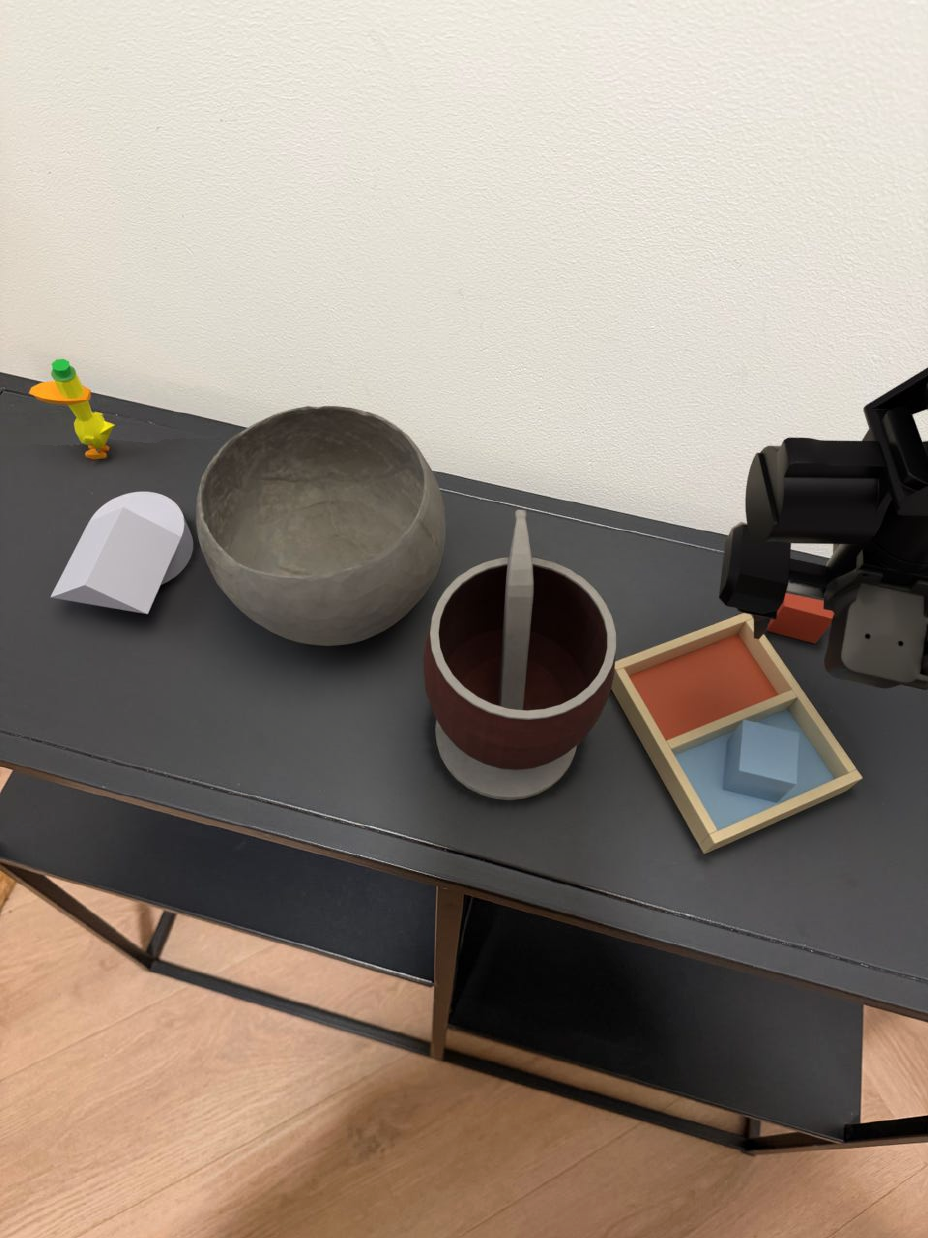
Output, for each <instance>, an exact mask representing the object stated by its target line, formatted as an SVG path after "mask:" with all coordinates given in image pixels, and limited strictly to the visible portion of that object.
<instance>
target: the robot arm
mask: <svg viewBox="0 0 928 1238" xmlns="http://www.w3.org/2000/svg"><path fill="white" fill-rule="evenodd" d="M862 411H863V414H864V417H865V421H866V423H867V426H868V430H867V431H866V433H865V435H864V436H863V438H862V440H835V439H833V440H831V439H829V440H828V439H827V440H825V439H817V438H811V437H791V436H790V437H789V436H788V437H786V438H785V439H783V441H782V442H781V445H766V446H764V447H763V448H762V450H760V452H755V455H754V456H753V459H752V461H751V464H750V467H749V471H748V475H747V479H746V487H745V498H744V500H745V501H744V503H745V505H744V506H745V507H744V508H745V509H744V510H745V519H746V522H744V521H740V522H738V523H737V524H735V525H734V526H732V527H731V529H730V531H729V533H728V534H727V538H726V539H725V542H724V551H723V557H722V565H721V566H722V567H721V576H720V584H719V590H718V591H719V592H718V599H719V600H720V601H721V602H722V604H723V605H724V606H725V607H729V608H734V609H737V611H738V612H740V613H741V614H743V613H746V614H751V616H752V617H753V619H754V639H760V638H761V637H762V635H763V634H764V635H765V633H766V631H767V627H768V624H769V622H770V620H771V619H774V620H776V619H777V611H778V609H779V608H780V606H781V605H782V603H783V601H784V597H785V594H786V593H788V594H793V595H798V596H802V597H807V598H812V599H816V600H821V601H824V606H823V609H825V610H830V611H833V613H834V615H833V618H832V623H831V625H830V629H829V634H828V641H827V645H826V646H827V648H826V652H825V654H824V659H823V666H824V669H825V671H826V672H827V673H828V675H829V676H831V677H832V678H834V679H838V680H842V681H850V682H854V683H858V684H862V685H867V686H872V687H875V688H878V689H884V690H885V689H891V688H895V687H899V686H905V687H910V688H914V689H919V690H923V691H928V440H924V441H923V439H922V437H921V434H920V431H919V428H918V426H917V423H916V420H915V418H914V415H915V414H918V413H922V412H924V411H928V367H926V368H924V369H922V370H920V371H919V372H917V373H916V374H914V375H912V376H911V377H909V378H908V379H906V380H905V381H903V382H901V383H899V384H898V385H896V386H894V387H893V388H891V389H890V390H888V391H887V392H885V393H883V394H882V395H880V396H879V397H877V398H875V399H874V400H872V401H870V402H868V403H867V404H866V405H864V406H863V409H862ZM792 544H800V545H801V544H802V545H805V544H806V545H807V544H808V545H832V555H831V556H830V557H829V559H828V561H827V562H826V564H819V563H816V562H810V561H805V560H800V559H795V558H791V553H792V551H791V550H792Z"/></svg>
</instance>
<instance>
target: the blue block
mask: <svg viewBox="0 0 928 1238" xmlns="http://www.w3.org/2000/svg"><path fill="white" fill-rule="evenodd" d="M798 751H799V732H794V731H790V730H786V729H782V728H777V727H773V726H769V725H764V724H760V723H756V722H752V721H747V720H743V721H742V722H741V724H740V725H739V726H738V728H737V729H736V730H735V732H734V733H733V734H732V735H731V737H730V738H729V739H728V741H727V749H726V759H725V770H724V780H723V790H727V791H731V792H736V793H740V794H744V795H748V796H752V797H756V798H760V799H764V800H768V801H773V802H778V801H779V800H780V799H781V798H782V797H784V796H785V795H786V794H787V793H788V792H789V791H790V790H791V789H792V788H793V787H794V786H795V785H796V784H797V771H798Z"/></svg>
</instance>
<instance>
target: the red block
mask: <svg viewBox="0 0 928 1238" xmlns="http://www.w3.org/2000/svg"><path fill="white" fill-rule="evenodd" d="M823 606H824V601H821V600H816V599H812V598H807V597H802V596H798V595H793V594H788V593H786V594H785V597H784V601H783V603H782V605H781V606H780V608H779V609H778V611H777V619H776V620H774V619H771V620H770V622H769V624H768V627H767V629H766V631H767V632H770V633H774V634H776V635H777V634H778V635H780V636H781V635H782V636H784V637H789V638H793V639H796V640H799V641H804V642H807V643H810V644H814V645H815V644H816V643H817V642H818V641H819V640H820V639H821V637H822V636H823V635H824V633H825V632H826V631H827V630H828V629H829V627H831V623H832V618H833V615H834V613H833V611H830V610H825V609H823Z"/></svg>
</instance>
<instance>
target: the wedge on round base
mask: <svg viewBox="0 0 928 1238" xmlns="http://www.w3.org/2000/svg"><path fill="white" fill-rule="evenodd" d="M192 535H193V534H192V533H191V530H190V528H189V525H188V524H187V520H186V519H185V516H184V514H183V511H182V509H181V508H180V507H179V505H178V504H177V503H176V502H175V501H174V500H172V499H171V498H170V497H168V496H166V495H164V494H160V493H158V492H152V491H134V492H129V493H125V494H122V495H119V496H117V497H114V498H112V499H110V500H109V501H107V502H105V503H104V504H103V505H102V506H100V507H99V508H98V509H97V510H96V511H95V513H94V514H93V515H92V516H91V518H90V519H89V521H88V523H87V525H86V527H85V529H84V531H83V533H82V534H81V537H80V538H79V541H78V542H77V544H76V546H75V549H74V550H73V552H72V554H71V556H70V558H69V560H68V561H67V564H66V566H65V568H64V570H63V572H62V573H61V576H60V577H59V579H58V582H57V583H56V586H55V587H54V589H53V591H52V593H51V595H50V598H52V599H55V600H63V601H68V602H73V603H74V602H75V603H81V604H86V605H93V606H96V607H97V606H98V607H102V608H103V607H104V608H109V609H116V610H121V611H128V612H133V613H139V614H146V615H148V614H149V612H150V610H151V608H152V605H153V603H154V601H155V598H156V596H157V594H158V592H159V589H160V587H161V585H164V584H167V583H168V582H170V581H171V580H173V579H174V578H176V577H177V576H178V575H179V574H180V573H182V571H183V570H184V569H185V568H186V566H187V565H188V564H189V562H190V560H191V558H192V556H193V551H194V538H193V536H192Z"/></svg>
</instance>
